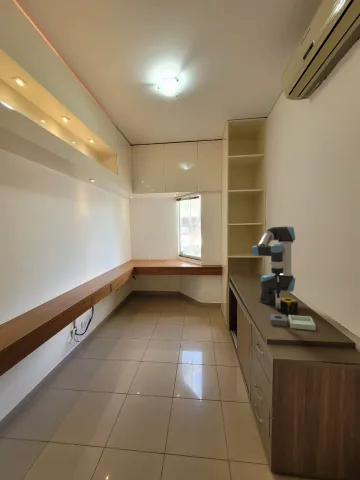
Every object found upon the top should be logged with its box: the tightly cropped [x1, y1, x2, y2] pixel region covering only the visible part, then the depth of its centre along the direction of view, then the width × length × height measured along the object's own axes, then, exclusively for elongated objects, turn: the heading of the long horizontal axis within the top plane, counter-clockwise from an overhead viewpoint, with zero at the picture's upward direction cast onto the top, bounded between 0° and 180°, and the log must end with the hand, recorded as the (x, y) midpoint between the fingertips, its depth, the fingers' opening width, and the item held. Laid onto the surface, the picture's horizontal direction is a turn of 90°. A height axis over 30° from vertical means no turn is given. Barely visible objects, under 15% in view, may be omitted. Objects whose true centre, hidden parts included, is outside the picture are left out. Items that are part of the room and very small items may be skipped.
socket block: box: [269, 313, 288, 327], centre depth 155 cm, size 10×10×4 cm
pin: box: [275, 290, 281, 310], centre depth 154 cm, size 3×3×12 cm
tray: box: [287, 314, 317, 331], centre depth 151 cm, size 14×14×3 cm
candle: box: [277, 296, 299, 316], centre depth 171 cm, size 10×10×10 cm
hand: (278, 301), depth 155 cm, fingers closed on pin, 3 cm apart
